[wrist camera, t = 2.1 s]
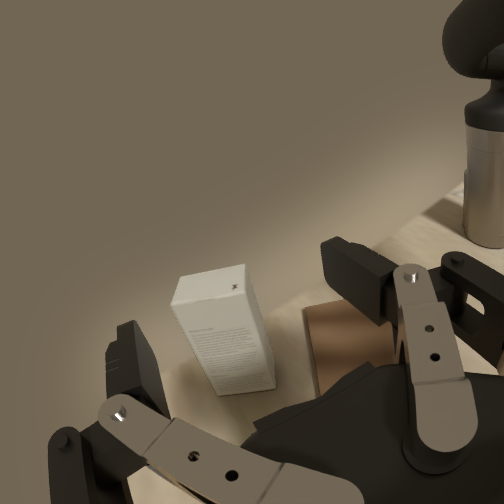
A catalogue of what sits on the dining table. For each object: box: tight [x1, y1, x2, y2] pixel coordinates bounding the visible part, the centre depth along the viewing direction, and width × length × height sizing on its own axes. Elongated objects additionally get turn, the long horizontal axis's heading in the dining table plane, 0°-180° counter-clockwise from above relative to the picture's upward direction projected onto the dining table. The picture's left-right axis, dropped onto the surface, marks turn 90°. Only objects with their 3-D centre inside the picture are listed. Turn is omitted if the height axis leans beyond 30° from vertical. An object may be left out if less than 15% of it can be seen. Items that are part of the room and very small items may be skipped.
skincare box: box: [170, 264, 276, 396], centre depth 27 cm, size 6×4×12 cm
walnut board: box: [305, 299, 394, 396], centre depth 28 cm, size 18×12×1 cm, turn 179°
